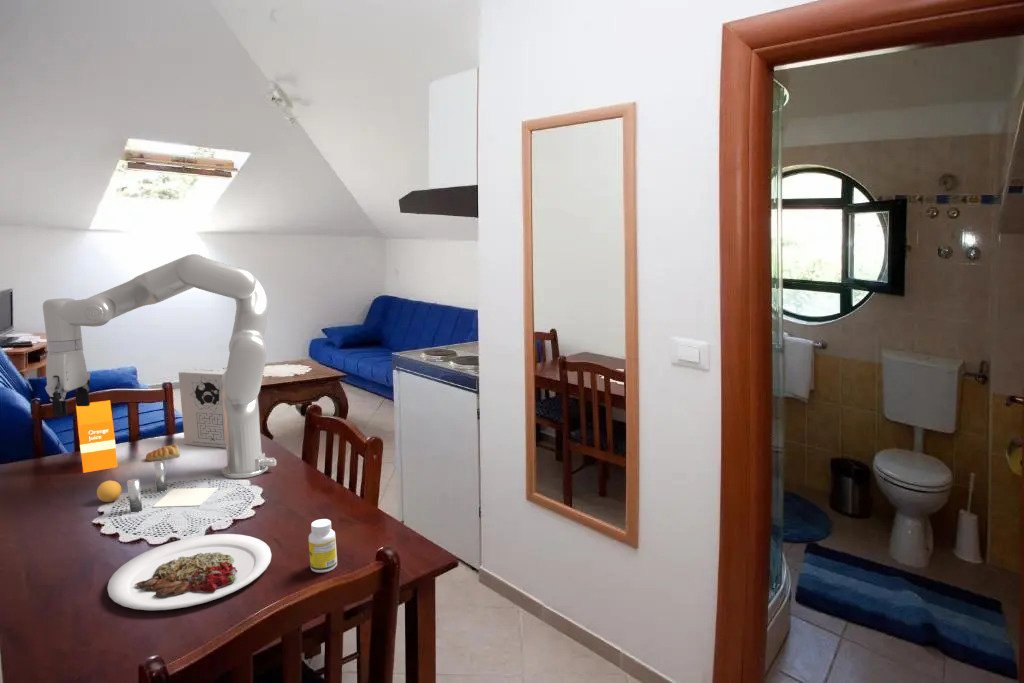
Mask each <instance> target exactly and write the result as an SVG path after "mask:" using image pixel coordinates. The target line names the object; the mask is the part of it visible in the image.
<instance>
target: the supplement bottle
mask: <svg viewBox="0 0 1024 683" xmlns="http://www.w3.org/2000/svg"><path fill="white" fill-rule="evenodd" d="M310 528H311V529H310V531H311V532H310V533H309V535H308V549H309V550H308V553H309V566H310V569H311V571H312V572H315V573H321V574H322V573H327V572H330V571H332V570H334V569H335V568H336V567H337V566H338V554H337V542H336V540H337V539H336V532H335V530H333V529H332V520H330V519H328V518H321V519H316V520H314V521H312V522H311V525H310Z"/></svg>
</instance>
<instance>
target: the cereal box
mask: <svg viewBox="0 0 1024 683" xmlns="http://www.w3.org/2000/svg"><path fill="white" fill-rule="evenodd" d="M226 370H227V368H210V367H209V368H208V367H192V368H189V369H186V370H184V369H183V370H182V371H181V370H180V371H179V372H178V380H179V382H178V383H179V393H180V403H181V404H180V405H181V417H182V428H183V429H182V430H183V440H184V445H185V446H186V445H188V446H199V447H211V448H223V449H226V439H225V426H224V412H223V401H222V393H221V378H222V376H223V374H224V372H225V371H226Z"/></svg>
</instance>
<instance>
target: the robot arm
mask: <svg viewBox="0 0 1024 683" xmlns="http://www.w3.org/2000/svg"><path fill="white" fill-rule="evenodd" d="M193 288H195V289H198V290H202V291H205V292H209V293H212V294H216V295H218V296H219V295H220V296H223V297H227V298H230V299H233V300H235V304H236V309H235V316H234V323H233V328H232V332H231V337H230V340H229V343H228V351H229V356H228V361H227V367H226V369H227V370H226V371H225V372H224V374H223V376H222V378H221V393H222V401H223V412H224V426H225V439H226V448H225V450H226V462H227V465H226V466H224V467H223V468H222V470H221V473H222V476H223V477H225V478H229V479H246V478H252V477H256V476H259V475H262V474H263V473H266V472H267V471H268V469H269V467H275V466H277V459H275V457H267V456H266V454H265V453H266V452H263V451H262V440H261V425H260V407H259V399H258V398H259V393H260V391H261V387H262V381H263V378H264V377H263V376H264V371H265V366H266V363H267V362H266V361H267V355H268V354H267V353H268V349H267V345H266V342H265V340H264V339H265V333H266V328H267V327H266V326H267V319H268V313H269V312H268V311H269V300H268V296H267V292H266V291H265V288H264V287H263V285H262V283H261V282H260V280H258V278H257V277H256V276H254V275H253V274H252V273H251V272H250V271H249V270H248V269H245V268H243V267H237V266H233V265H230V264H226V263H223V262H220V261H217V260H213V259H210V258H207V257H205V256H202V255H200V254H195V253H194V254H193V253H192V254H187V255H185V256H182V257H179V258H176V259H175V260H173V261H170V262H168V263H165V264H163V265H161V266H158V267H155V268H153V269H151V270H148V271H146V272H144V273H141V274H139V275H137V276H135V277H134V278H132V279H129V280H127V281H126V282H124V283H121V284H119V285H116V286H114V287H111V288H109V289H106V290H104V291H101V292H99V293H97V294H95V295H94V294H93V295H92V296H89V297H87V298H84V299H83V298H82V299H73V298H63V297H62V298H50V299H46V300H45V301H43V304H42V312H43V313H42V314H43V320H44V330H45V338H46V347H47V353H48V354H47V357H46V362H45V363H46V368H45V369H46V370H45V371H46V372H45V373H46V385H45V387H44V389H45V391H46V393H47V397H48V398H49V401H50V402H51V406H52V414H53V416H54V417H66V416H68V403H67V400H66V395H67V393H69V392H71V391H75V390H76V391H75V392H74V394H75V405H77V406H89V405H90V403H91V402H90V392H89V391H90V387H89V386H90V383H91V381H90V380H91V372H89V371H87V364H86V363H87V362H86V360H85V355H84V346H83V337H82V327H91V328H92V327H94V328H95V327H102V326H104V325H106V324H108V323H109V322H110V320H112V319H113V320H114V318H118V317H119V316H122V315H125V314H127V313H129V312H132V311H133V310H136V309H139V308H141V307H145V306H149V305H155V304H158V303H161V302H164V301H166V300H168V299H170V298H172V297H175V296H177V295H179V294H182V293H184V292H187V291H189V290H192V289H193Z"/></svg>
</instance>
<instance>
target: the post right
mask: <svg viewBox="0 0 1024 683" xmlns="http://www.w3.org/2000/svg"><path fill="white" fill-rule="evenodd" d="M165 461H166V460H162V461H153V468H154V470H153V471H154V478H155V480H154V481H155V488H156V490H155V491H156V492H157V493H162V492H161V491H163V492H166V491H167V490H168V484H167V473H166V464H165V463H166V462H165ZM165 490H166V491H165Z"/></svg>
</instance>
